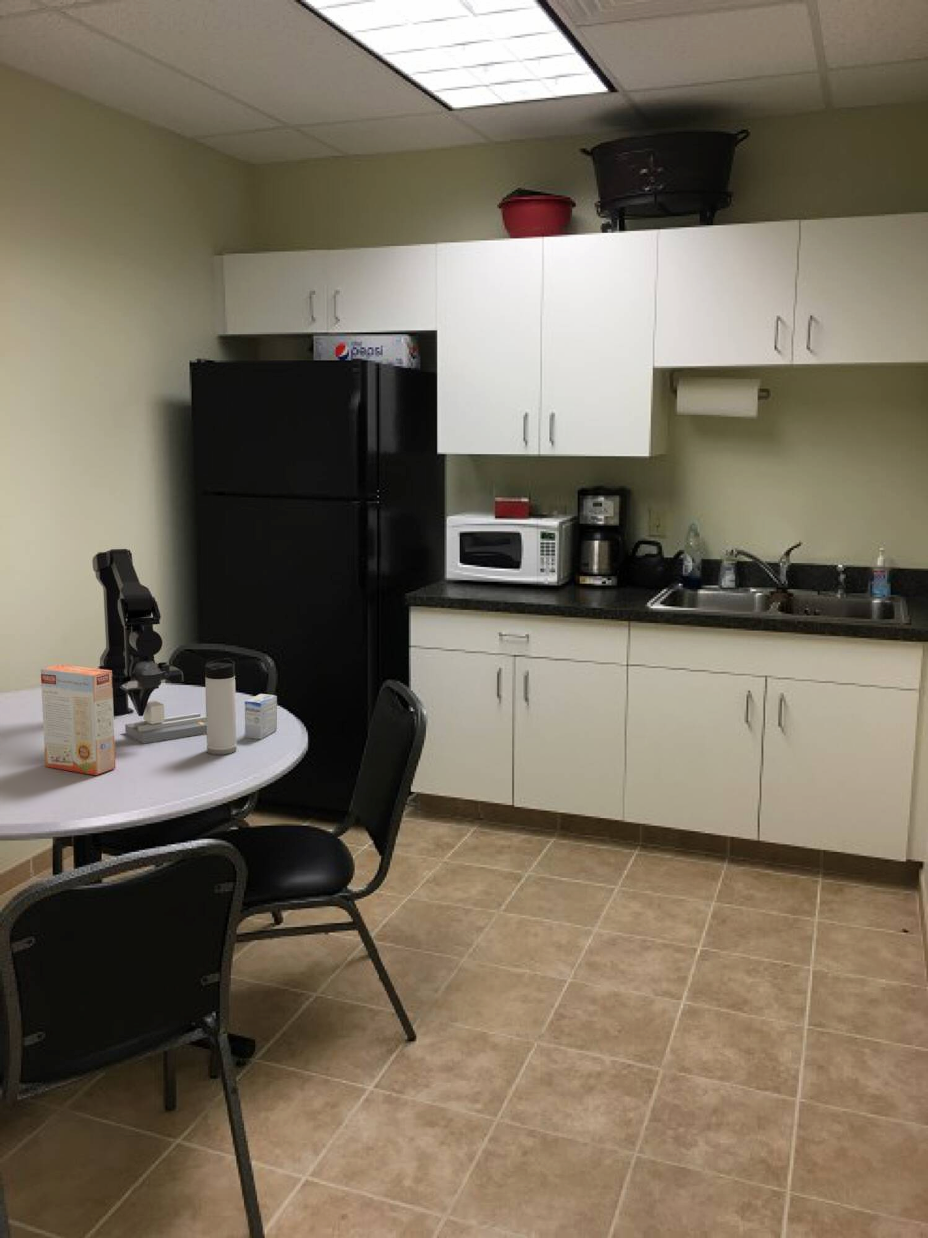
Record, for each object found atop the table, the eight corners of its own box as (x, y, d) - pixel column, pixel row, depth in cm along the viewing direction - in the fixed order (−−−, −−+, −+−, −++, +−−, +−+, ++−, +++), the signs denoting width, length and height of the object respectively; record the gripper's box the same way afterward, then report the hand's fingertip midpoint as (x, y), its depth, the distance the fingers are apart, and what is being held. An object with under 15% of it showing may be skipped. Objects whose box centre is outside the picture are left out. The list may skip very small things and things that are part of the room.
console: (125, 732, 246) (125, 720, 246) (195, 721, 257) (194, 709, 256) (143, 744, 238) (143, 730, 237) (215, 732, 248) (214, 719, 247)
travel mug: (242, 748, 236) (241, 659, 232) (226, 756, 230) (224, 665, 226) (217, 745, 238) (215, 656, 234) (201, 753, 232) (199, 662, 228)
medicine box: (260, 729, 251) (259, 693, 250) (277, 731, 250) (277, 694, 249) (244, 738, 244) (243, 701, 242) (262, 740, 243) (261, 702, 241)
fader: (143, 725, 246) (142, 702, 245) (156, 723, 247) (155, 700, 246) (151, 729, 242) (151, 706, 241) (164, 727, 243) (163, 705, 243)
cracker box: (117, 769, 220) (113, 669, 216) (96, 777, 214) (91, 675, 211) (66, 759, 226) (61, 662, 222) (43, 767, 220) (39, 667, 217)
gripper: (109, 659, 228) (111, 730, 230) (192, 649, 239) (194, 717, 241) (91, 650, 236) (94, 718, 239) (172, 641, 248) (174, 707, 250)
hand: (140, 715), depth 242 cm, fingers closed
